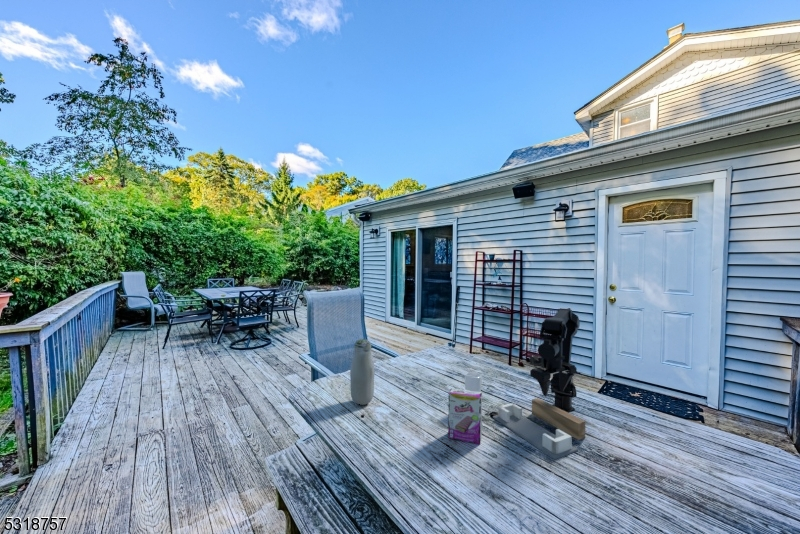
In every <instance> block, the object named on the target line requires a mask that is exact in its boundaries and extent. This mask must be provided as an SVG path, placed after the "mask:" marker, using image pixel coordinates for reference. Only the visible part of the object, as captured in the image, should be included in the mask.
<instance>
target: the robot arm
mask: <svg viewBox="0 0 800 534" xmlns="http://www.w3.org/2000/svg"><path fill="white" fill-rule="evenodd" d="M580 324H581V323H580V318H579V316H578V315H577V314H575V312H573V310H572V309H570V308H558V309H557V312H556V313H555V314H554V315H553V316H552V317H545V319H544V320H543V321H542V323H541V328H540V331H539V333H540V334H539V339H543V342H542V343H541V344H540V345H539V346H538V348H537V353H538V355H539V356H537V355H530V356H529V363H530V365H532V366H533V367H535V368H532V369H530V370H529V377H531V378H533V379H534V380H536V381H537V382H538V384H539V387H540V389H541V392H542V395H543V396H544V397H547V396H548V393H549V390H550V393H552V394H554V400H553V401H554V402H553V403H554V404H552V405H553V406H555V407H557V408H559V409H561V410H563V411H565V412H567V413H569V412H572V411H575V410H576V408H575V407H574V406H572V405H573V403H572V401H573V399H574V398H577V397H578V396H577V387H576V385H575V383H574V376H575V374H577V370H578V369H577V367H576V365H575V364H572V363H571V358H572V349H573V348H572V347H573V338H574V337H575V336H576V334H578V329H580ZM537 366H540V367H537ZM551 375H552V378H551Z"/></svg>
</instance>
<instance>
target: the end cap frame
mask: <svg viewBox="0 0 800 534" xmlns="http://www.w3.org/2000/svg"><path fill="white" fill-rule="evenodd" d="M492 418H493V419H494V420H496V421H497V422H498V423H500V424H501V425H503V426H504V427H506V428H507V429H509V431H511V432H513V433H514V434H516V435H517V436H519V437H520V438H522V439H523V440H525V441H526V442H528V443H529V444H530V445H532V446H533V447H535V448H537V449H538V450H540V452H543V453H544V454H546V455H547V456H548V457H549V458H551V459H553V460H559V459H560V458H564V457H566V456H567V455H569V456H570V454H573V453H574V454H575V453H576V452H579V448H578V447H575V446H574V445H573V444H572V443H573V437H572V436H570V435H569V434H567V433H565V432H563V431H561V430H560V429H558V428H556V429H555V434H554V433H552V432H550V431H549V430H547V429H546V428H544V427H542V426H540V425H538V423H535V422H533V421H532V420H530V419H528V418H527V417H525V416H524V415H523V408H522V407H520V406H519V405H517V404H515V403H514V402H511V403H507V404H502V405H498V406H497V414H496V415H493V416H492Z"/></svg>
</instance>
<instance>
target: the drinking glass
mask: <svg viewBox="0 0 800 534" xmlns="http://www.w3.org/2000/svg"><path fill="white" fill-rule="evenodd" d="M464 390H470V391H477V392H482V374H480V373H479V372H475V371H467V372H466V373H464Z"/></svg>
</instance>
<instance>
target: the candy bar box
mask: <svg viewBox="0 0 800 534" xmlns="http://www.w3.org/2000/svg"><path fill="white" fill-rule="evenodd" d="M482 411H483V392H482V391H481V392H477V391H470V390H465V388H464V389H463V388H455V387H450V389H449V391H448V414H447V415H448V418H447V419H448V420H447V421H448V422H447V424H448V426H447V429H448V430H447V431H448V433H447V437H448V439H450V438H451V439H452V440H455V441H456V440H457V441H461V442H467V443H470V444H471V443H473V444H475V445H476V444H477V445H481V440H482V433H483V432H482V419H483V416H482V415H483V412H482Z"/></svg>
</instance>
